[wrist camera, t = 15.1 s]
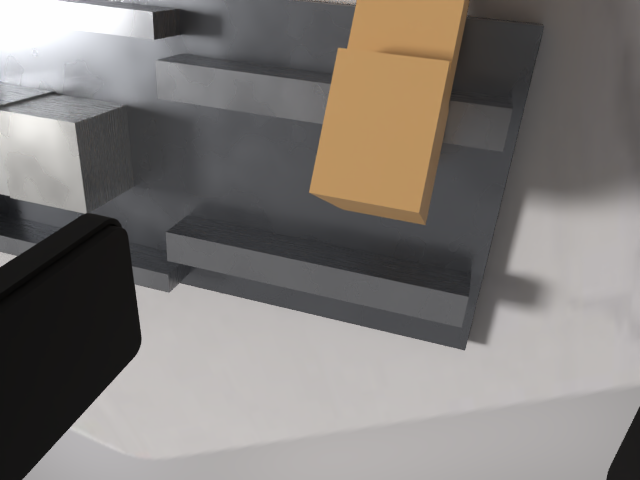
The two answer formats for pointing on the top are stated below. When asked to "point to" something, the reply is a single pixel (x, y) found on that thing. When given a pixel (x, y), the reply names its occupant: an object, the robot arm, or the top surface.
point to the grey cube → (66, 151)
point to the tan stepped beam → (389, 108)
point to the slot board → (271, 154)
